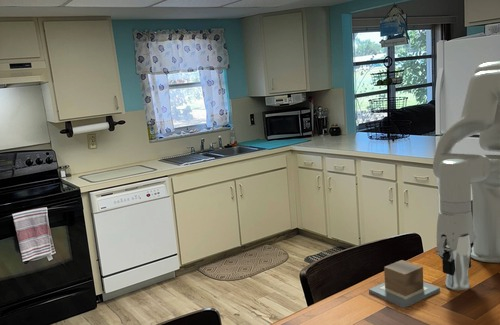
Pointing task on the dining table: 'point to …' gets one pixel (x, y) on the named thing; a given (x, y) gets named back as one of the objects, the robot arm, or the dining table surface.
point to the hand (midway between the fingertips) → (456, 269)
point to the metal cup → (460, 265)
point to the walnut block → (403, 277)
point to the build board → (401, 299)
